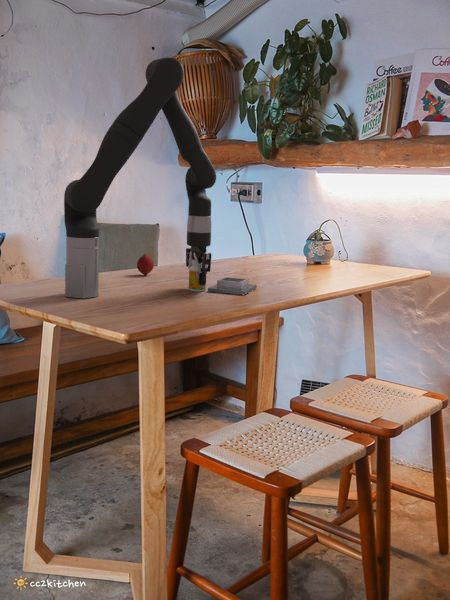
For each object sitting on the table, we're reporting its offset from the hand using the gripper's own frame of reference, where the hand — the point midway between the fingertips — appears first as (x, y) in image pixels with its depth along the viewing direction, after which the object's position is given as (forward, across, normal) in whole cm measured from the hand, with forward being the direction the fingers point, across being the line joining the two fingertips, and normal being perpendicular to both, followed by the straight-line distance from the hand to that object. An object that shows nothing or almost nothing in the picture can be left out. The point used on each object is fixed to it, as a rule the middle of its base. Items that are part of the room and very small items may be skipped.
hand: (197, 283), depth 215 cm
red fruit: (+3, +31, +6) cm, 32 cm away
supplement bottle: (+3, 0, 0) cm, 3 cm away
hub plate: (+2, -3, -11) cm, 12 cm away
